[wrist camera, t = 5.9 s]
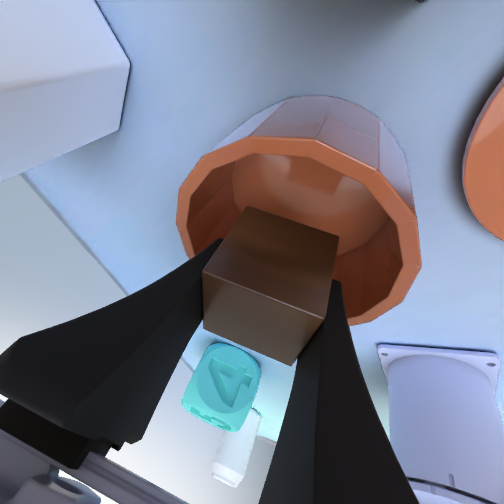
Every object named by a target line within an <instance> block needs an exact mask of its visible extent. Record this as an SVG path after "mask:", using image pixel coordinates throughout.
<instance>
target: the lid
mask: <svg viewBox="0 0 504 504" xmlns="http://www.w3.org/2000/svg"><path fill="white" fill-rule="evenodd" d="M462 184H463V190H464V193H465V197H466V200H467V203H468V205H469V207H470V208H471V210H472V212H473V214H474V216H475V217H476V218H477V220H478V221H479V222H480V223H481V224H482V226H483V227H484V228H486V229H487V230H488V231H489V232H490V233H492V234H493V235H494V236H496V237H497V238H499V239H501V240H502V241H504V77H503V78H502V80H501V81H500V82H499V84H498V85H497V87H496V88H495V90H494V91H493V92H492V94H491V95H490V97H489V98H488V100H487V101H486V103H485V105H484V107H483V109H482V110H481V112H480V114H479V116H478V118H477V119H476V121H475V124H474V126H473V129H472V131H471V133H470V136H469V138H468V141H467V145H466V149H465V152H464V156H463V164H462Z"/></svg>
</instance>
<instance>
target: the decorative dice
mask: <svg viewBox="0 0 504 504" xmlns="http://www.w3.org/2000/svg"><path fill="white" fill-rule="evenodd" d="M260 377H261V371H260V368H259V366H258V364H257V362H256V361H255V359H254V358H253V357H251V356H250V355H249V354H247V353H246V352H244V351H242V350H241V349H239V348H236V347H234V346H231V345H228V344H223V343H215V344H212V345H209V346H208V348H207V349H206V351H205V353H204V354H203V356H202V358H201V360H200V362H199V364H198V366H197V368H196V370H195V372H194V374H193V376H192V378H191V380H190V382H189V384H188V386H187V388H186V391H185V393H184V395H183V398H182V401H181V403H182V406H183V407H184V408H185V409H186V410H187V411H188V412H190V413H191V414H193V415H194V416H196V417H197V418H199V419H201V420H203V421H205V422H207V423H208V424H211V425H213V426H215V427H217V428H220V429H222V430H225V431H229V432H237V431H239V430H240V429H241V427H242V425H243V424H244V422H245V420H246V418H247V415H248V413H249V411H250V408H251V406H252V403H253V401H254V398H255V395H256V392H257V389H258V385H259V381H260Z"/></svg>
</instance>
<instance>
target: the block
mask: <svg viewBox="0 0 504 504" xmlns="http://www.w3.org/2000/svg"><path fill="white" fill-rule="evenodd" d="M338 244H339V236H337V235H334V234H331V233H328V232H325V231H322V230H319V229H317V228H314V227H311V226H308V225H305V224H302V223H299V222H296V221H293V220H290V219H287V218H284V217H281V216H278V215H275V214H272V213H269V212H266V211H263V210H260V209H257V208H254V207H251V206H247V207H246V208H245V209H244V211H243V212H242V214H241V215H240V217H239V218H238V220H237V221H236V222H235V224H234V225H233V227H232V228H231V230H230V231H229V233H228V234H227V236H226V237H225V238H224V240H223V241H222V243H221V244H220V246H219V247H218V249H217V250H216V252H215V253H214V254H213V256H212V257H211V259H210V260H209V262H208V263H207V265H206V266H205V268H204V269H203V270H202V292H203V329H205V330H207V331H209V332H212V333H214V334H216V335H219V336H221V337H223V338H226V339H228V340H230V341H233V342H235V343H237V344H240V345H242V346H244V347H247V348H249V349H251V350H254V351H256V352H258V353H261V354H263V355H265V356H268V357H270V358H272V359H275V360H277V361H279V362H282V363H284V364H286V365H289V366H292V365H293V363H294V362H295V361H296V359H297V358H298V356H299V355H300V353H301V352H302V351H303V349H304V348H305V346H306V345H307V344H308V342H309V341H310V339H311V338H312V336H313V335H314V334H315V332H316V331H317V329H318V328H319V326H320V325H321V324H322V322H323V321H324V319H325V316H326V311H327V305H328V299H329V294H330V288H331V283H332V277H333V271H334V266H335V260H336V255H337V249H338Z"/></svg>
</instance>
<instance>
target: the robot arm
mask: <svg viewBox="0 0 504 504" xmlns="http://www.w3.org/2000/svg"><path fill="white" fill-rule="evenodd" d="M223 240H224V239H222V238H218V239H216V240H215V241H214V242H213V243H211V244H210V245H209V246H208V247H206V248H205V249H204V250H202V251H201V252H200V253H198V254H197V255H195V256H194V257H193V258H191V259H190V260H188V261H187V262H185V263H184V264H183V265H181V266H180V267H178V268H177V269H175V270H173V271H172V272H170V273H169V274H167V275H165V276H164V277H162V278H161V279H159V280H157V281H155V282H154V283H152V284H150V285H148V286H147V287H145V288H143V289H141V290H139V291H137V292H135V293H133V294H131V295H129V296H127V297H125V298H123V299H121V300H119V301H117V302H114V303H112V304H110V305H108V306H105V307H103V308H101V309H98V310H96V311H93V312H91V313H88V314H86V315H83V316H81V317H78V318H76V319H73V320H70V321H68V322H65V323H62V324H59V325H56V326H53V327H51V328H47V329H44V330H41V331H38V332H35V333H32V334H29V335H26V336H23V337H21V338H19V339H18V340H17V341H16V342H14V343H13V344H12V345H11V346H10V347H9V348H8V349H6V350H5V351H4V352H3V353H2V354H1V355H0V394H1V395H3V396H5V397H7V398H9V399H8V400H7V401H6V402H4V401H2V400H0V504H100V502H101V498H100V497H98V495H96V494H95V493H94V492H93V491H92V490H91V489H89V488H88V487H87V486H85V485H84V484H82V483H80V482H78V481H75V480H71V479H67V478H64V477H59V476H58V473H59V469H60V470H62V471H64V472H65V473H67V474H69V475H71V476H72V477H74V478H76V479H78V480H79V481H81V482H83V483H85V484H86V485H88V486H90V487H91V488H93V489H95V490H97V491H98V492H100V493H102V494H104V495H105V496H107V497H109V498H110V499H112V500H114V501H115V502H117V503H119V504H189V503H187V502H185V501H183V500H181V499H180V498H178V497H176V496H174V495H173V494H171V493H169V492H167V491H165V490H163V489H162V488H160V487H158V486H156V485H154V484H153V483H151V482H149V481H147V480H145V479H143V478H142V477H140V476H138V475H136V474H134V473H133V472H131V471H129V470H127V469H125V468H124V467H122V466H120V465H118V464H116V463H115V462H113V461H111V460H109V459H107V458H105V456H106V454H107V453H108V451H109V449H110V448H111V447H112V448H113V449H115V450H117V451H119V450H120V449H121V447H122V446H123V444H124V442H127V443H129V444H133V443H135V442H137V441H139V440H141V439H142V437H143V435H144V433H145V431H146V429H147V426H148V424H149V422H150V420H151V418H152V415H153V413H154V411H155V409H156V407H157V405H158V402H159V400H160V398H161V396H162V394H163V392H164V390H165V388H166V386H167V384H168V382H169V380H170V378H171V376H172V373H173V372H174V370H175V368H176V366H177V363H178V362H179V359H180V358H181V356H182V354H183V352H184V350H185V348H186V346H187V344H188V342H189V341H190V339H191V337H192V336H193V334H194V332H195V331H196V329H197V328H198V326H199V324H200V323H201V321H202V320H203V292H202V270H203V269H204V268H205V266H206V265H207V263H208V262H209V260H210V259H211V257H212V256H213V254H214V253H215V252H216V250H217V249H218V247H219V246H220V244H221V243H222V241H223ZM377 351H378V354H379V357H380V360H381V364H382V367H383V370H384V373H385V377H386V380H387V383H388V386H389V427H390V441H389V439H388V437H387V435H386V433H385V430H384V428H383V426H382V424H381V421H380V419H379V417H378V414H377V412H376V409H375V407H374V404H373V402H372V399H371V397H370V394H369V391H368V389H367V386H366V383H365V380H364V377H363V374H362V371H361V368H360V365H359V362H358V358H357V355H356V352H355V348H354V345H353V341H352V337H351V333H350V328H349V324H348V320H347V315H346V310H345V304H344V298H343V291H342V284H341V282H340V281H338V280H335V279H332V283H331V288H330V294H329V299H328V305H327V311H326V316H325V319H324V321H323V322H322V324H321V325H320V326H319V328H318V329H317V331H316V332H315V334H314V335H313V336H312V338H311V339H310V341H309V342H308V344H307V345H306V346H305V348H304V349H303V351H302V352H301V353H300V355H299V356H298V359H297V365H296V371H295V377H294V381H293V386H292V390H291V394H290V398H289V401H288V405H287V409H286V412H285V416H284V420H283V423H282V427H281V430H280V434H279V437H278V441H277V444H276V448H275V451H274V455H273V458H272V462H271V465H270V468H269V471H268V475H267V478H266V481H265V484H264V488H263V491H262V494H261V497H260V500H259V504H504V426H503V423H502V419H501V416H500V413H499V409H498V406H497V402H496V399H495V397H496V390H497V383H498V376H499V370H500V363H501V361H500V358H499V356H498V355H497V354H494V353H488V352H475V351H462V350H449V349H436V348H423V347H410V346H398V345H385V344H380V345H378V347H377Z"/></svg>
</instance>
